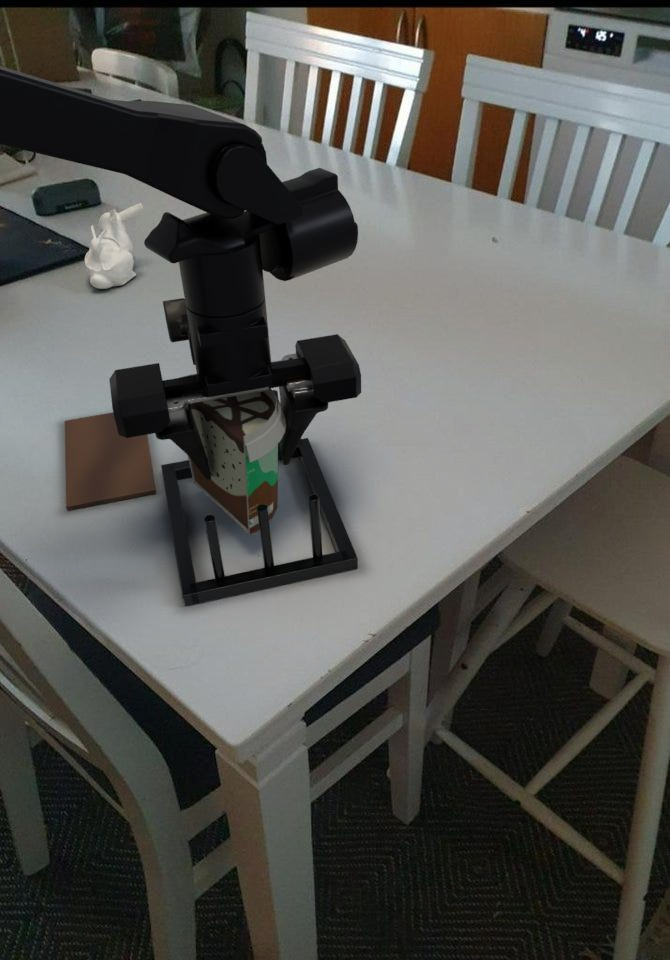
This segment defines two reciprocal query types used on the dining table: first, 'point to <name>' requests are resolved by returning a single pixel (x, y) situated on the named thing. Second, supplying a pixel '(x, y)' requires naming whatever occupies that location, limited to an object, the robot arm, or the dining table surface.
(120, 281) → the white sculpted figure
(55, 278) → the dining table surface
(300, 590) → the dining table surface
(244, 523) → the food container
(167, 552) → the dining table surface
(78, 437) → the walnut board
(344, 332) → the dining table surface
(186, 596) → the drying rack
